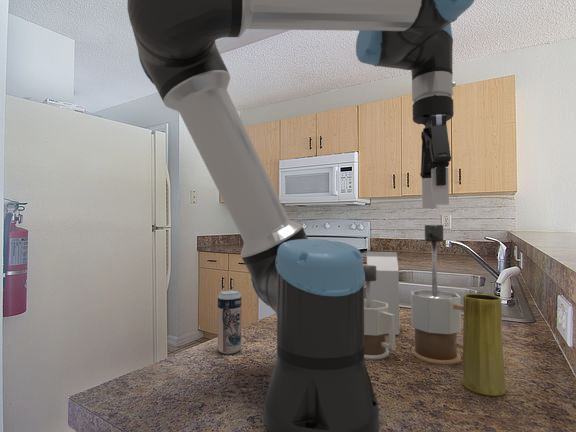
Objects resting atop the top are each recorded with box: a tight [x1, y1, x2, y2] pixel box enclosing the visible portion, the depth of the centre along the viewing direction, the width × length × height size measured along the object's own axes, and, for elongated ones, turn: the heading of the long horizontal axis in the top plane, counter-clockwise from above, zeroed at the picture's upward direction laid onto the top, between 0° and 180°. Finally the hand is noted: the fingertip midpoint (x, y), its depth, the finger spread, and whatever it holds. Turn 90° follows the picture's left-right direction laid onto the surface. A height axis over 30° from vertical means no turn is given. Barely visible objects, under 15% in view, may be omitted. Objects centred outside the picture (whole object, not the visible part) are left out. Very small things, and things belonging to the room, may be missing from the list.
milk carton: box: [366, 251, 400, 336], centre depth 83 cm, size 7×7×19 cm
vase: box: [461, 292, 507, 397], centre depth 54 cm, size 6×6×14 cm
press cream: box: [363, 264, 396, 361], centre depth 68 cm, size 8×10×17 cm
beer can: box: [217, 289, 242, 355], centre depth 70 cm, size 5×5×12 cm
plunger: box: [417, 224, 453, 299], centre depth 67 cm, size 6×6×14 cm
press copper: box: [410, 289, 464, 366], centre depth 66 cm, size 9×12×12 cm
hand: (434, 206), depth 68 cm, fingers open, 13 cm apart
